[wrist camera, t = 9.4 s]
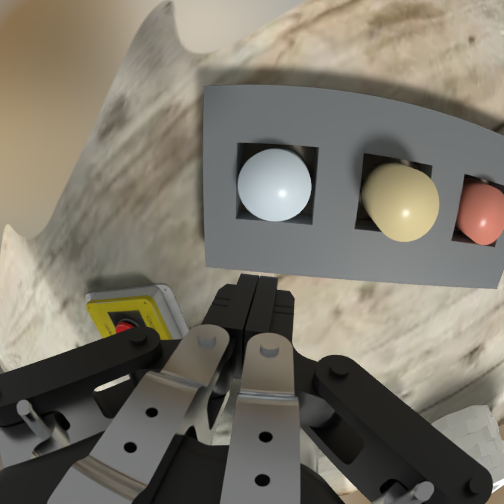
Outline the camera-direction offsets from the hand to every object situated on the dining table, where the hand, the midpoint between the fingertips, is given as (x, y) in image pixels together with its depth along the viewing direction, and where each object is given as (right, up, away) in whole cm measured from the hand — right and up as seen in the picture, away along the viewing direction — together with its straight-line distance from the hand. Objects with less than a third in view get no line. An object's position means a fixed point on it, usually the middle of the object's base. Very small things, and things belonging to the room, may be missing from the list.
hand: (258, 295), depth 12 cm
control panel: (+12, +8, +12) cm, 19 cm away
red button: (+22, +7, +11) cm, 25 cm away
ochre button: (+12, +7, +10) cm, 17 cm away
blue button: (+2, +8, +13) cm, 16 cm away
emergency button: (-16, -7, +24) cm, 29 cm away
